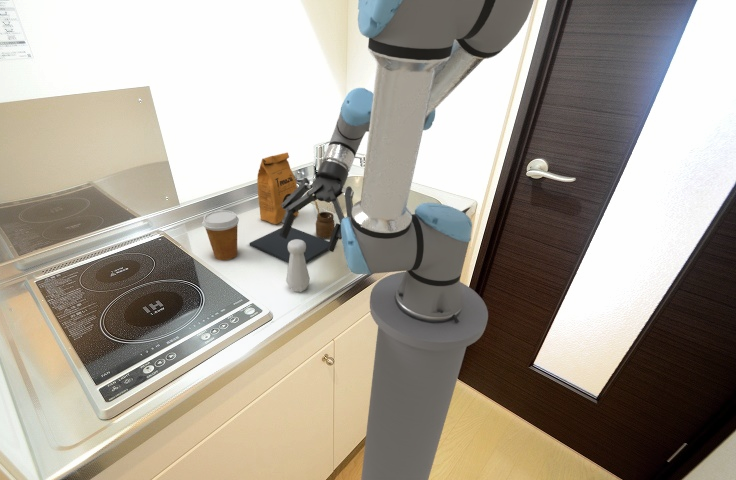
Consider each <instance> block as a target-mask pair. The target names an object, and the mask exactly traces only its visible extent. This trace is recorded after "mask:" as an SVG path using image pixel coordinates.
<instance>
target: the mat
mask: <svg viewBox="0 0 736 480" xmlns="http://www.w3.org/2000/svg"><path fill="white" fill-rule="evenodd" d="M281 229H282V227H280V228H278V229H276V230H273V231H271V232H268V233H267V234H265V235H263V236H261V237H259V238H257V239H254V240H252V241H250V242H249V246H250V247H252V248H254V249H256V250H258V251H260V252H263V253H265V254H266V255H269V256H271V257H273V258H275V259H278V260H280V261H283V262H284V263H287V264H289V258H290V252H289V251H288V243H289V242H290V241H291V240H295V239H299V240H302V241H304V242H305V243H306V250H305V252H304V257H305V261H306V265H307V264H308V263H310V262H312V261H313V260H315V259H317V258H318V257H320V256H321V255H323V254H324V253H325V254H326V252H328V251H330V250H329V249H328V248H327V246H328V244H329V241H330V240H327V239H322V238H319V237H318V236H317V235H316V236H315V235H313V234H311V233H308V232H305V231H302V230H300V229H298V228H295V227H292V226H291V229H290V231H289V234H288V236H287V239H284V238H283V237H281V236H280V235H279V234H280V232H281Z"/></svg>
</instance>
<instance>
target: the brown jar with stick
mask: <svg viewBox="0 0 736 480" xmlns="http://www.w3.org/2000/svg"><path fill="white" fill-rule="evenodd" d="M327 203H328V202H327ZM331 204H332V202H330V203H328V204H327V208H326V209H328V210H330V208H331V210H330V211H321V212H320V207H319V205H318V202H317V200H315V201H314V205H315V208H316V210H317V215H316V221H315V235H316V237H318V238H321V239H324V240H327V239H330V238H331V236H332V233H333V231H334V228H335V225H336V223H335V219H334V218H335V216H334V213H333V210H334V206H333V204H332V205H331ZM328 206H329V208H328Z"/></svg>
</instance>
